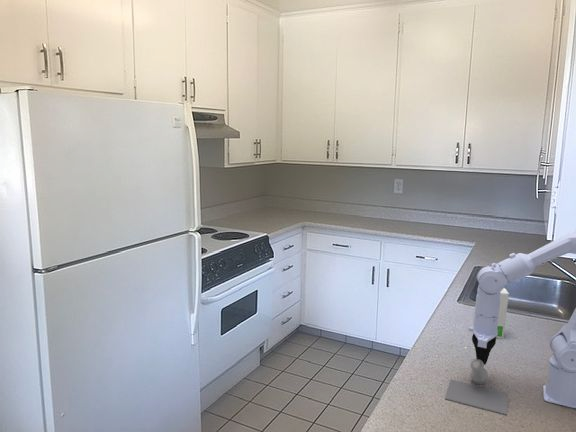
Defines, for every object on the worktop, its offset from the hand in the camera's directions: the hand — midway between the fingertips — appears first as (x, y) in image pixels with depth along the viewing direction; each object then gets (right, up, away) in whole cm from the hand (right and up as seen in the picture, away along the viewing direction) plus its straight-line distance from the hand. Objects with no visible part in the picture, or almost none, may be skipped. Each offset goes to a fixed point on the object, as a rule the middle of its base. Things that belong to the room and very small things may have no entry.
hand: (481, 362), depth 123 cm
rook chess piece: (0, -4, +2) cm, 5 cm away
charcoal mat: (-3, -7, -5) cm, 9 cm away
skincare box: (+16, -1, +33) cm, 37 cm away
